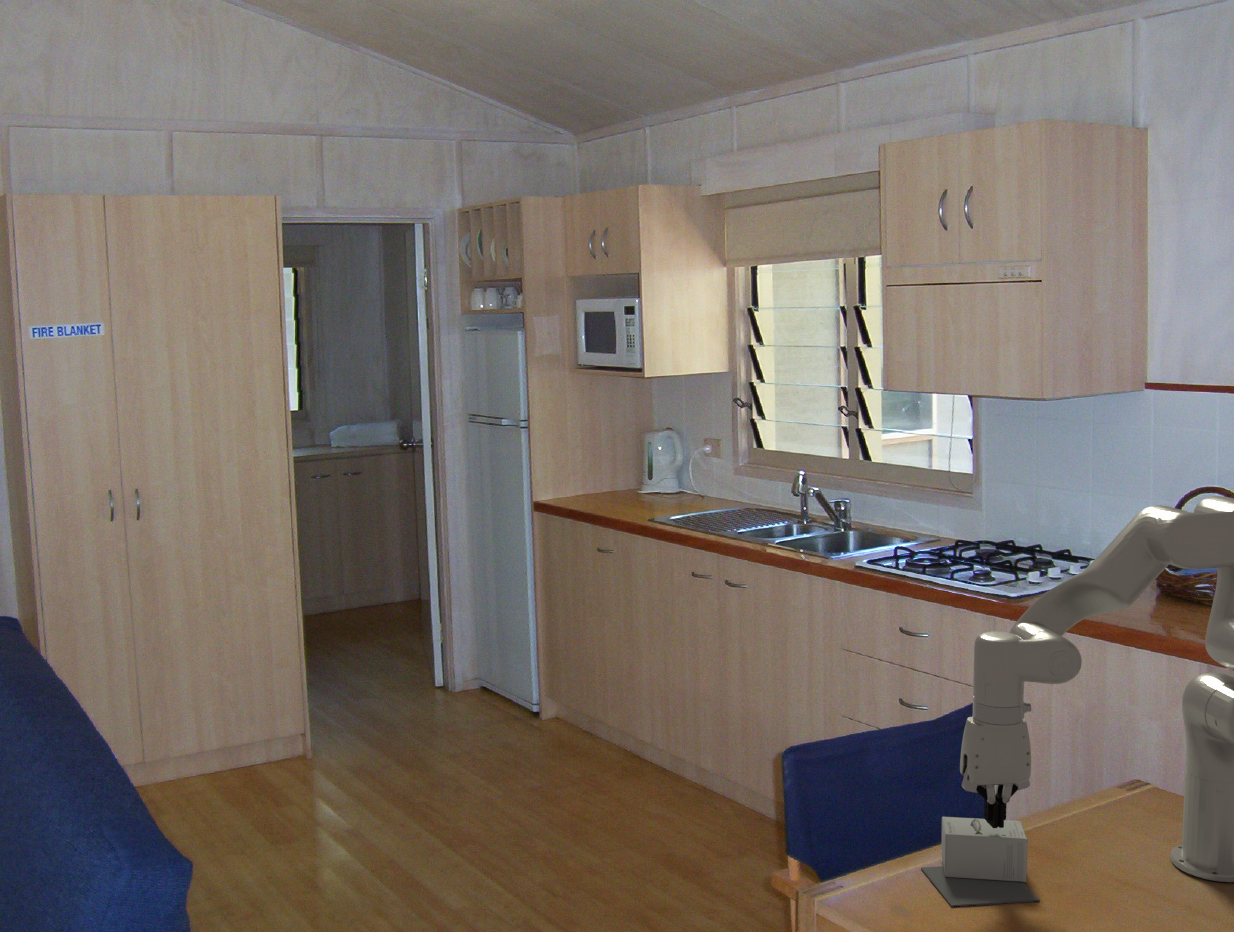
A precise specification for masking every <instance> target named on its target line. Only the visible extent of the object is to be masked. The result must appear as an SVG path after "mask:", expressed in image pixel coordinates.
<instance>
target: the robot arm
mask: <svg viewBox="0 0 1234 932" xmlns="http://www.w3.org/2000/svg"><path fill="white" fill-rule="evenodd" d="M1169 565H1170V566H1174V567H1176V568H1179V569H1182V570H1183V569H1186V570H1207V569H1208V570H1209V569H1216V573H1217V574H1216V575H1217V577H1216V583H1215V592H1214V596H1213V601H1212V604H1211V611H1210V614H1209V619H1208V623H1207V627H1206V632H1205V637H1204V639H1205V640H1204V646H1205V647H1204V648H1205V650H1206V653H1207V654H1208V656H1209V657H1210V658H1211V659H1212V660H1213V661H1214V662H1216V663H1218V664H1220V665H1222V666H1223V667H1225V668H1227V669H1229V670H1232V671H1234V498H1232V497H1228V496H1219V495H1217V496H1216V495H1214V496H1209V497H1205V498H1204V499H1202V500H1200V501H1199V502H1198V503H1197V504H1196V506H1195V507H1194V510H1193V512H1192V511H1191V512H1190V511H1187V510H1185V509H1184V510H1183V509H1180V508H1175V507H1171V506H1167V505H1159V504H1158V505H1149V506H1147V507H1145V508H1143V509H1141V510H1140V511H1139V512H1138V513H1137V514H1135V515H1134V517H1132V519H1131V520H1130V521H1129V522H1128V523H1127V524H1126V525H1125V526H1124V528H1122V530H1121V531H1119V532H1118V533H1117V535H1116V536H1115V537H1114V539H1112V541H1111V542H1110V543H1108V544H1107V546H1106V547H1105V548H1104V549H1103V550H1102V551H1101V553H1100V554H1099V555H1097V556H1096V558H1095V559H1094V560H1093V561H1092V562H1091V563H1090V564H1089V565H1088V566H1087V567H1086V568H1085V569H1083V571H1081V572H1079V573H1078V574H1075V575H1073V576H1071V577H1069V578H1068V579H1066V580H1064V581H1063V582H1061V583H1059V584H1058V585H1056V586H1054V587H1053V588H1051V589H1049V590H1047V591H1046V592H1044V593H1043V594H1042V595H1041V596H1040V597H1038V598H1037V599H1036V600H1035V601H1034V602H1033V603H1032V604H1031V605H1030V606H1029V607H1028V608H1027V610H1026V611H1025V612H1024V613H1022V615H1021V616H1020V617H1019V619H1017V621H1016V622H1015V623H1014V624H1013V626H1012V627H1011V629H1010V630H1009V632H1006V631H987V632H982V633H980V634H979V635H977V637H976V638H975V640H974V646H973V649H974V650H973V686H972V687H973V689H972V691H973V692H972V693H973V694H972V716H969V717H967V719H966V722H965V725H964V731H963V735H962V742H961V749H960V760H959V761H960V762H959V771H960V774H961V775H962V776H963V779H962V782H961V787H962V788H963V789H964V790H965V792H971V793H978V794H979V795H980V796H981V797H982V798H983V799H984V800H983V802H984V804H983V819H985V820H986V821H987V823H988V824H989V825H990V826H991V827H992V828H997V827H999V828H1004V820H1007V804H1008V803H1010V801H1011V798H1012V796H1014V794H1016V793H1017V791H1021V790H1025V789H1028V788H1030V787H1031V781H1030V779H1031V775H1032V751H1031V740H1030V733H1029V728H1028V724H1027V721H1026V719H1025V714H1027V713H1030V712H1032V705H1031V703H1030V702H1028V703H1026V702H1025V701H1024V699H1025V698H1024V694H1025V682H1027V683H1029V682H1030V683H1036V684H1037V683H1038V684H1045V685H1062V684H1065V683H1068V682H1071V681H1072V680H1073V679H1075V678H1076V677H1077V675H1078V674H1079V673H1080V670H1081V668H1082V663H1083V661H1082V656H1081V653H1080V650H1079V649H1078V648H1077V646H1076V645H1075V644H1074V643H1073V642H1072V641H1070V640H1069V639H1068V638H1066V637H1064V635H1065V634H1066V633H1067V632H1068V631H1069V630H1070V629H1071V628H1072V627H1074V626H1075V625H1076V624H1078V623H1080V622H1082V621H1083V620H1085V619H1087V618H1090V617H1092V616H1096V615H1099V614H1100V615H1101V614H1104V613H1105V614H1106V613H1111V612H1117V611H1121V610H1123V609H1126V608H1129V607H1131V606H1132V605H1134V604H1135V602H1136V601H1137V600H1138V599H1139V598H1140V597H1141V596H1142V595H1143V593H1144V592H1146V590H1147V589H1148V588H1149V587H1150V586H1151V584H1152V583H1153V582H1155V580H1156V579H1158V577H1159V576H1160V575H1161V573H1162V572H1164V570H1165V569H1167V567H1168V566H1169ZM1181 712H1182V720H1183V726H1184V734H1185V766H1184V768H1185V769H1184V770H1185V771H1184V790H1183V812H1182V814H1183V815H1182V830H1181V831H1182V833H1181V835H1182V836H1181V844H1178V845H1176V846H1174V847H1173V848H1172V849H1171V851H1170V860H1171V862H1172V864H1173V866H1175V867H1176V868H1178V869H1179V870H1181V871H1182V872H1184V873H1186V874H1188V875H1191V876H1194V877H1196V878H1201V879H1204V880H1208V881H1213V882H1220V883H1234V677H1233V676H1231V675H1228V674H1227V673H1221V672H1216V671H1213V672H1212V671H1211V672H1205V673H1201V674H1198V675H1196V676H1195V677H1194V678H1192V679H1190V681H1189V682H1188V683H1187V685H1186V687H1185V688H1184V691H1183V694H1182V699H1181ZM995 786H996V788H995Z"/></svg>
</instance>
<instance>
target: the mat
mask: <svg viewBox="0 0 1234 932" xmlns="http://www.w3.org/2000/svg"><path fill="white" fill-rule="evenodd" d="M920 869H921V871H922V872H923V874H924V875H925V876H926V878H928V880H929V881H930V882H931V884H932V885H933V884H934V885H933V886H934V888H935V889H936V890H937V891H938V892H939V894H940V895H941V896H942V897H943V899H944V900H945V901H946V903H947V904H948V905H949V906H950V907H951V908H957V907H956V906H960V907H972V906H973V905H976V906H986V905H987V906H989V905H1004V903H1005V905H1006V903H1007V904H1023V903H1037V902H1036V901H1039V902H1041V899H1040V898H1039V897H1038V896H1037V895H1036V894H1035V893H1034V892H1033V891H1032V890H1031V888H1029V886H1028V885H1026V882H1017V881H1002V880H986V879H971V878H956V877H945V873H944V867H943V865H941V866H940V865H939V866H927V867H925V866H922V867H921V868H920ZM1034 901H1035V902H1034ZM969 905H970V906H969ZM971 905H972V906H971ZM954 906H955V907H954Z"/></svg>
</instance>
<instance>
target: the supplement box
mask: <svg viewBox="0 0 1234 932" xmlns="http://www.w3.org/2000/svg"><path fill="white" fill-rule="evenodd" d="M1028 841H1029V839H1028V838H1027V837H1026V834H1025V831H1024V827H1023V823H1022V822H1021V821H1020V820H1009V819H1008V820H1007V819H1006V820H1004V828H999V827H997V828H992V827H991V826H990V825H989V824H988V823H987V821H986V820H985V818H977V817H976V818H974V817H954V816H941V860H942V866H943V867H944V873H945V877H956V878H971V879H986V880H1002V881H1017V882H1024V883H1027V879H1028V853H1029V852H1028V851H1029V850H1028V848H1029V842H1028Z"/></svg>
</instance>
